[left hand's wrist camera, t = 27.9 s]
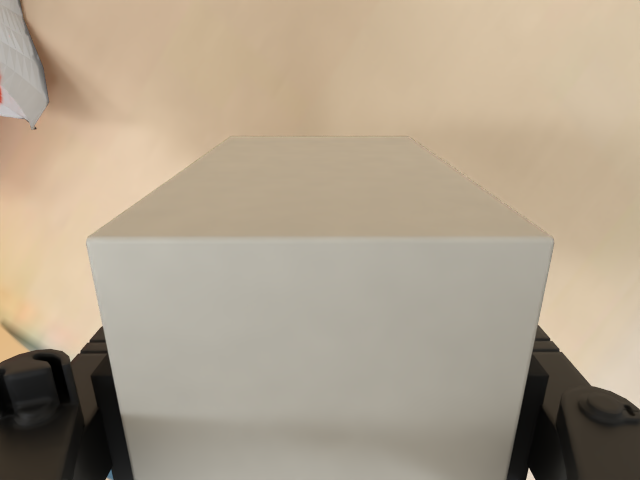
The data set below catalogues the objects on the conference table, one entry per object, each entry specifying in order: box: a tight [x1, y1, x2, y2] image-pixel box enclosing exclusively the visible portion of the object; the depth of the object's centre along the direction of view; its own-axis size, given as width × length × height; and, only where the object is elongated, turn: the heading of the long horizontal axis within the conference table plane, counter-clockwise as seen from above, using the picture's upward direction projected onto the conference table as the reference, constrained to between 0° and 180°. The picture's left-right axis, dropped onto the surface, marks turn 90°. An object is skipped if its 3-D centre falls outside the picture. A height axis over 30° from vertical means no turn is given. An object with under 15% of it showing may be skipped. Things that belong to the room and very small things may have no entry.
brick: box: [86, 136, 554, 480], centre depth 12 cm, size 6×8×10 cm
